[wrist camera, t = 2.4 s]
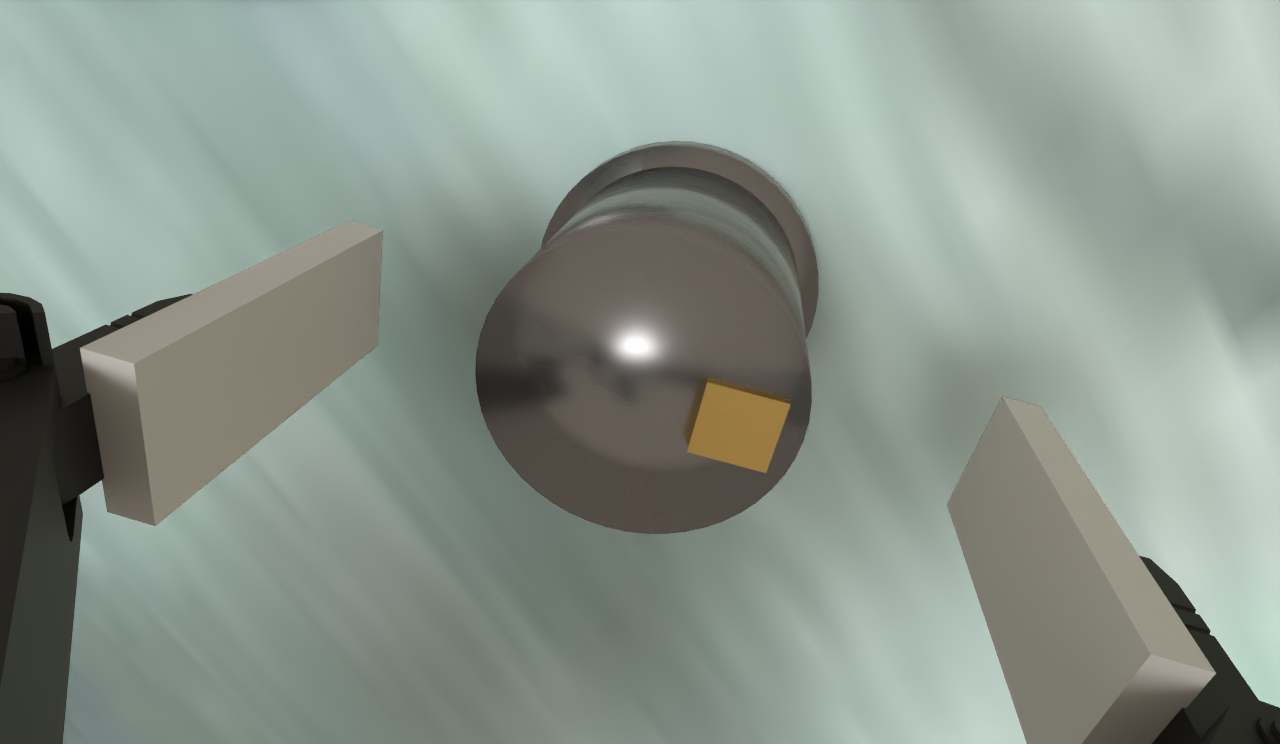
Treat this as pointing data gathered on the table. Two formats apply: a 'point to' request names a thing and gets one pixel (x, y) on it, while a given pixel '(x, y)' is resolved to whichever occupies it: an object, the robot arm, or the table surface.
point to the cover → (656, 342)
